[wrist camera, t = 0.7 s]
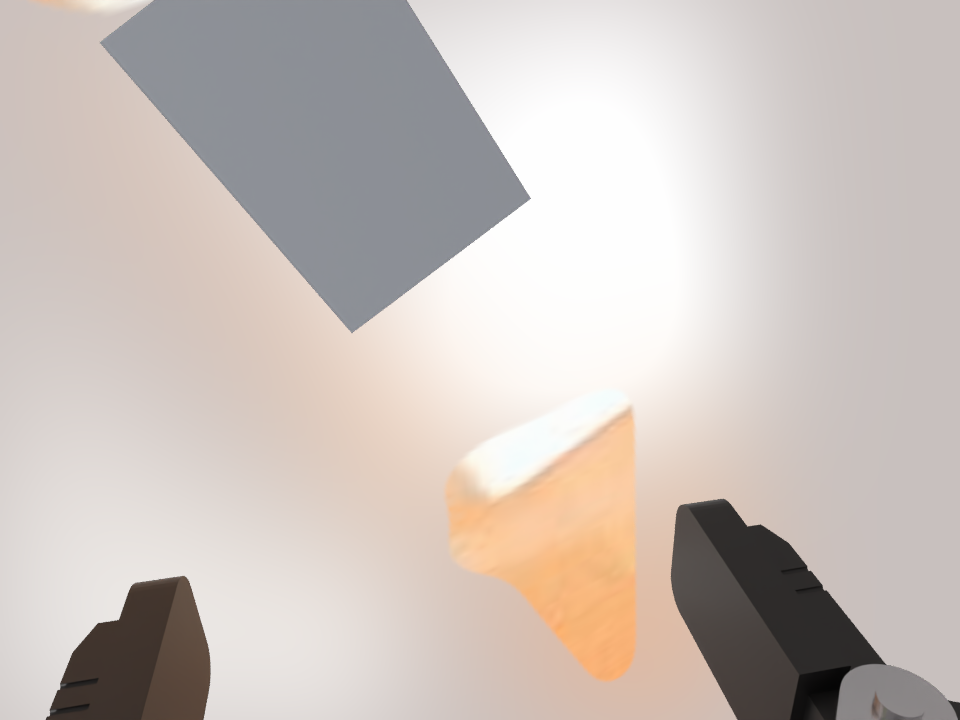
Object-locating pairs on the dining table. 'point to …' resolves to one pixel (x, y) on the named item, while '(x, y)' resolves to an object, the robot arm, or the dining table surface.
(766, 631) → the robot arm
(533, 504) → the dining table surface
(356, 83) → the gray mat
